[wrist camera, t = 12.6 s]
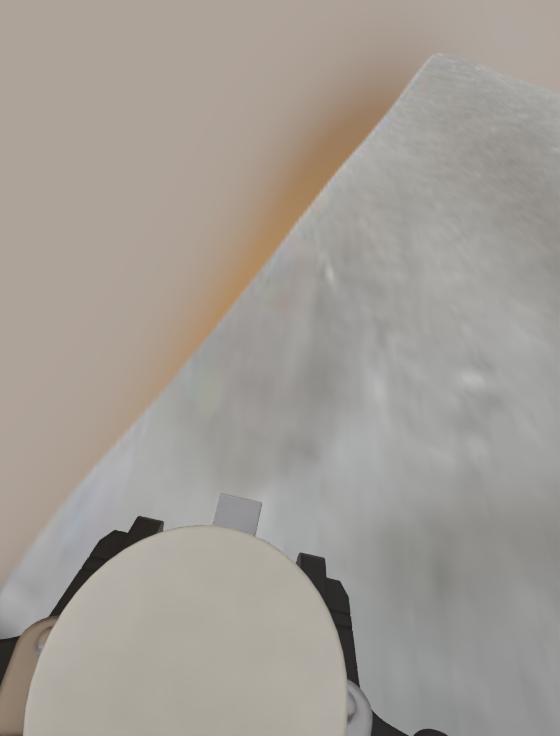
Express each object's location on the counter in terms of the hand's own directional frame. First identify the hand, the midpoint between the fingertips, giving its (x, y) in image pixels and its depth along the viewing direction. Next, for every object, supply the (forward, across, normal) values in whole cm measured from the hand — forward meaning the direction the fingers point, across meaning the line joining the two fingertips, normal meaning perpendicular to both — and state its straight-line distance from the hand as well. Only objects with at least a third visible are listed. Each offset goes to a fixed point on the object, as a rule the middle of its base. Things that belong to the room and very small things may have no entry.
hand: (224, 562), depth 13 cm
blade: (+3, 0, +6) cm, 6 cm away
